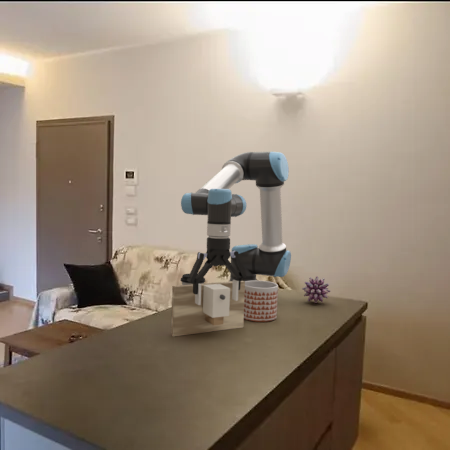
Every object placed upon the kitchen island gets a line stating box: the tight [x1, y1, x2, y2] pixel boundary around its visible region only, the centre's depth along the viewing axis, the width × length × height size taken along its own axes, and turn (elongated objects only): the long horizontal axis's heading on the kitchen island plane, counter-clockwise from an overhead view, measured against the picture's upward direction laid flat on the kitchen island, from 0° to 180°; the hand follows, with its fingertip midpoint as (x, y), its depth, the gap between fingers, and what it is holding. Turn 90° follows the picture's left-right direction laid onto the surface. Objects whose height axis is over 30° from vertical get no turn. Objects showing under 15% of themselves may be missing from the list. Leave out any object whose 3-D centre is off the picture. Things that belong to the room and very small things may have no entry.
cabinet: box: [203, 284, 230, 318], centre depth 147 cm, size 8×6×9 cm
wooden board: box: [170, 281, 245, 337], centre depth 150 cm, size 8×26×16 cm, turn 118°
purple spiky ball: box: [301, 275, 331, 304], centre depth 196 cm, size 12×12×12 cm
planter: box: [244, 279, 279, 323], centre depth 172 cm, size 14×14×13 cm
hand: (216, 301), depth 148 cm, fingers open, 13 cm apart
